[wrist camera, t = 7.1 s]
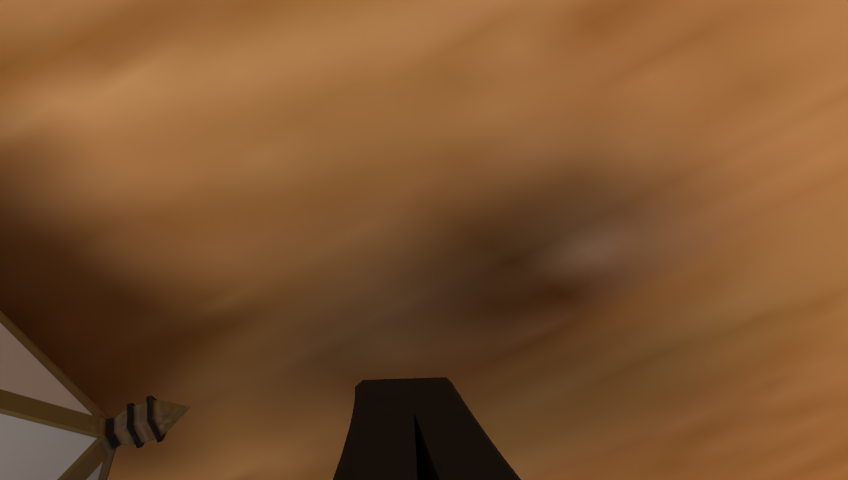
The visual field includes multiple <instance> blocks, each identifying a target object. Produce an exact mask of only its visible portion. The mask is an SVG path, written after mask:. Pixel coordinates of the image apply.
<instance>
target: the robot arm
mask: <svg viewBox="0 0 848 480" xmlns="http://www.w3.org/2000/svg"><path fill="white" fill-rule="evenodd" d="M333 480H521V479H520V478H519V477H518V475H517V474H516V473H515V472H514V470H513V469H512V468H511V467H510V465H509V464H508V463H507V461H506V460H505V459H504V458H503V456H502V455H501V454H500V452H499V451H498V450H497V448H496V447H495V445H494V444H493V443H492V441H491V440H490V439H489V437H488V436H487V434H486V433H485V432H484V430H483V429H482V427H481V426H480V425H479V423H478V422H477V420H476V419H475V417H474V416H473V414H472V413H471V412H470V410H469V409H468V407H467V406H466V404H465V403H464V401H463V399H462V398H461V396H460V395H459V393H458V392H457V390H456V389H455V387H454V385H453V384H452V383H451V382H450V381H449V380H448V379H447V378H446V377H445V378H413V379H381V380H363V381H362V382H360V383H359V384H358V385H357V386H356V387H355V402H354V409H353V414H352V419H351V423H350V428H349V431H348V435H347V438H346V442H345V445H344V449H343V452H342V455H341V458H340V461H339V464H338V467H337V470H336V473H335V475H334V478H333Z"/></svg>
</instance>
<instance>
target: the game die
mask: <svg viewBox="0 0 848 480" xmlns="http://www.w3.org/2000/svg"><path fill="white" fill-rule="evenodd" d="M189 408H190V407H187V406H182V405H177V404H173V403H168V402H163V401H158V400H157V399H155V398H154V397H153V396H148V397H147V401H146V402H144V403H141V404H138V405H134V404H133V403H130V404H127V410H125V411H124V412H122V413H121V414H119V415H118V416H117V417H115V418H109V417H108V416H107V415H106V414H105V413H104V412H103V411H102V410H101V409H100V408H99V407H98V406H97V405H96V404H95V403H94V402H93V401H92V400H91V399H90V398H89V397H88V396H87V395H86V394H85V393H84V392H82V391H81V390H80V389H79V388H78V387H77V386H76V385H75V384H74V383H73V382H72V381H71V380H70V379H69V378H68V377H67V376H66V375H65V374H64V373H63V372H62V371H61V370H60V369H59V368H58V367H57V366H56V365H55V364H54V363H53V362H52V361H51V360H50V359H49V358H48V357H47V356H46V355H45V354H44V353H43V352H42V351H41V350H40V349H39V348H38V347H37V346H36V345H35V344H34V343H33V342H32V341H31V340H30V339H29V338H28V337H27V336H26V335H25V334H24V333H23V332H22V331H21V330H20V329H19V328H18V327H17V326H16V325H15V324H14V323H13V322H12V321H11V320H10V319H9V318H8V317H7V316H6V315H5V314H4V313H3V312H2V311H1V310H0V480H107V478H108V475H109V471H110V468H111V464H112V461H113V457H114V454H115V450H116V448H117V447H118V446H120V445H129V444H135V445H136V447H137V448H140V447H142V446H143V445H144V443H145V442H146V441H150V440H153V439H156V440H157V442H161V441H163V439H164V437H165V434H166V432H167V431H168V430H169V429H170V428H171V427H172V426H173V424H174V423H175V422H176V421H177V420H178V419H179V418H180V417H181V416H182V415H183V414H184V413H185V412H186V411H187V410H188V409H189Z"/></svg>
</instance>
